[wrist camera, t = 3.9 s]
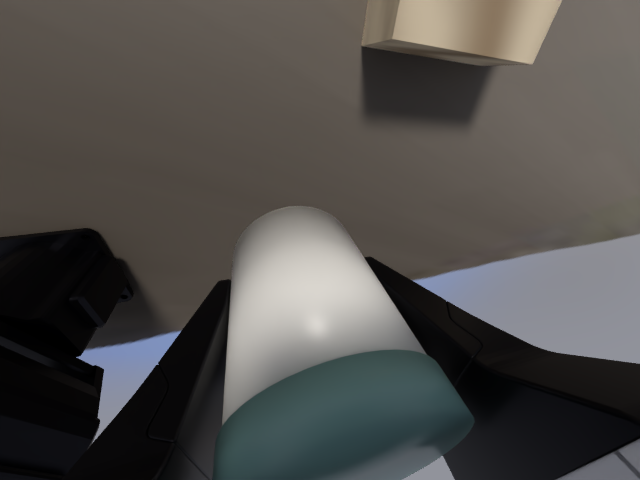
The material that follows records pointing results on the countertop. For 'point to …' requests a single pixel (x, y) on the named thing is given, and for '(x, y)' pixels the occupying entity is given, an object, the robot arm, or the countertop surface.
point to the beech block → (461, 29)
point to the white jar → (324, 364)
